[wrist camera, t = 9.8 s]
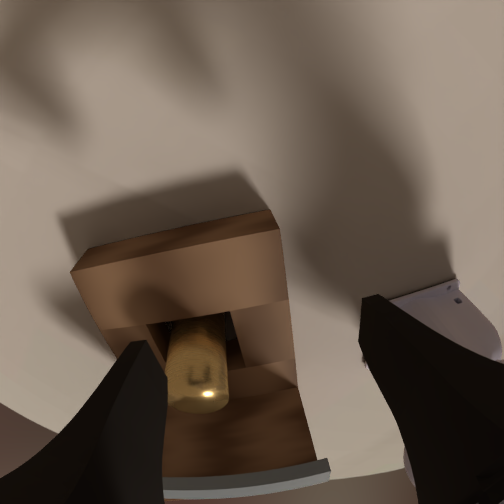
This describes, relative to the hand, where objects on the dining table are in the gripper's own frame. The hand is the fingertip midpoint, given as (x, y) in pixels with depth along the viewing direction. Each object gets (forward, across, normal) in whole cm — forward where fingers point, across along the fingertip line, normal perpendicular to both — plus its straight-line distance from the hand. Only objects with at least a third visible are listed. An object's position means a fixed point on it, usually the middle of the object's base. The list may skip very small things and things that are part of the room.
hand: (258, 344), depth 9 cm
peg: (+9, +4, +6) cm, 12 cm away
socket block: (+9, +4, +6) cm, 12 cm away
